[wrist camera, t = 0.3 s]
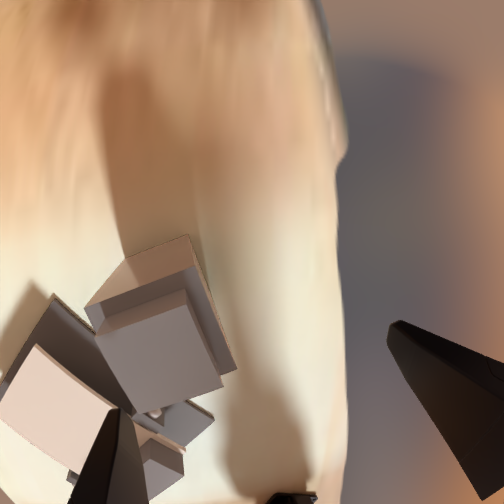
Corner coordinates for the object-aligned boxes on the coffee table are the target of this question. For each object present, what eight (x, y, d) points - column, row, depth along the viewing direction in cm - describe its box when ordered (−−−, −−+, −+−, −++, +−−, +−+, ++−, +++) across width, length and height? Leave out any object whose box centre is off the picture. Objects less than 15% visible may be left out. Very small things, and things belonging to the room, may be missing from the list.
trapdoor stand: (214, 418, 26) (220, 446, 22) (126, 489, 25) (125, 515, 22) (55, 298, 21) (36, 315, 17) (-7, 399, 21) (-23, 421, 17)
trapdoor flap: (185, 448, 23) (188, 472, 20) (124, 495, 22) (123, 517, 19) (36, 343, 19) (20, 361, 16) (-4, 410, 18) (-17, 429, 15)
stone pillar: (211, 296, 24) (246, 393, 12) (151, 318, 23) (132, 430, 11) (187, 234, 23) (198, 277, 10) (125, 258, 22) (69, 326, 10)
